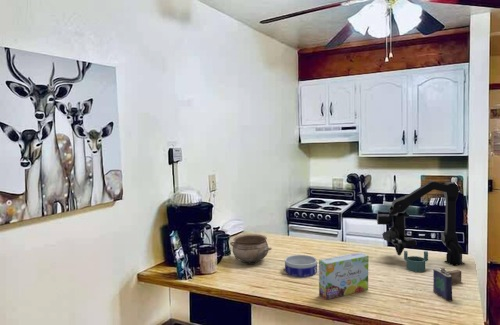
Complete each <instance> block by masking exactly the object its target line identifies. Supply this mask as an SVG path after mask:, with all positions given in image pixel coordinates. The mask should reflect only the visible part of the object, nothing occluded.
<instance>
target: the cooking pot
mask: <svg viewBox="0 0 500 325" xmlns="http://www.w3.org/2000/svg"><path fill="white" fill-rule="evenodd" d="M267 239H268V237H267V236H265V235H262V234H257V233H250V234H249V233H248V234H240V235H237V236H235V237H233V239H232V240H233V241H230V243H229V245H230V246H231V247H232V248H231V249H232V255H234V257H235V258H236V259H238V260H239V261H241V262H242V263H243V262H244V263H245V264H248V265H249V264H256V263H258V262H259V261H261V260H263V259H264V258H265V257H267V255H268V253H269V251H271V250H272V249H273V248H272V247H269V244H268V242H267Z"/></svg>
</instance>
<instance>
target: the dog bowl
mask: <svg viewBox="0 0 500 325" xmlns="http://www.w3.org/2000/svg"><path fill="white" fill-rule="evenodd" d="M284 270H285V274H287V275H288V276H290V277H295V278H309V277H313V276H315V275H316V274H318V260H317V258H316V257H315V256H312V255H308V254H293V255H289V256H286V257H285V259H284Z"/></svg>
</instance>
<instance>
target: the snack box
mask: <svg viewBox="0 0 500 325" xmlns="http://www.w3.org/2000/svg"><path fill="white" fill-rule="evenodd" d="M369 257H370V256H369V255H367V254H364V253H363V252H356V253H349V254H344V255H339V256H333V257H328V258H323V259H319V260H318V295H319V296H320V297H321V298H323V299H324V300H331V299H335V298H339V297H344V296H348V295H353V294H356V293H361V292H366V291H369Z"/></svg>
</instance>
